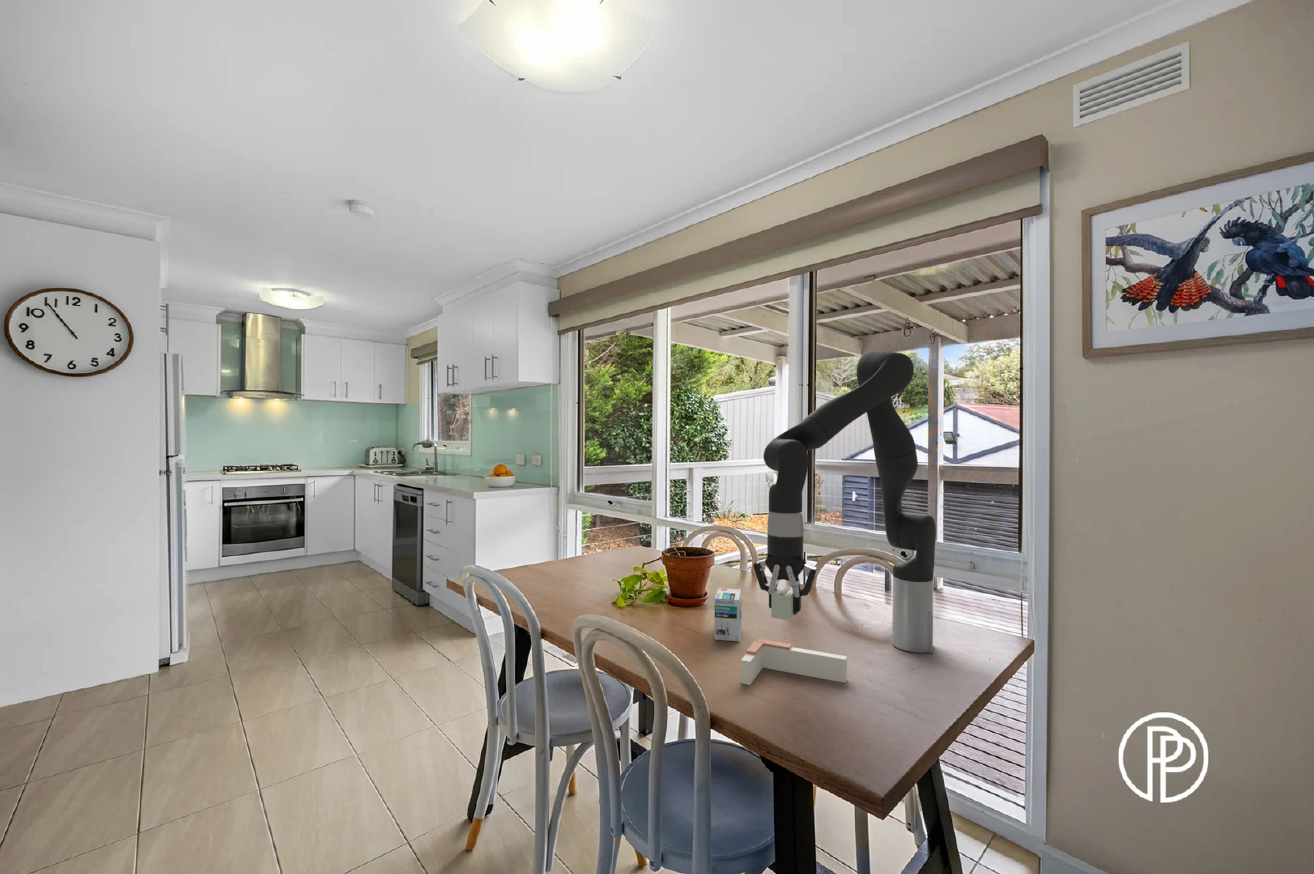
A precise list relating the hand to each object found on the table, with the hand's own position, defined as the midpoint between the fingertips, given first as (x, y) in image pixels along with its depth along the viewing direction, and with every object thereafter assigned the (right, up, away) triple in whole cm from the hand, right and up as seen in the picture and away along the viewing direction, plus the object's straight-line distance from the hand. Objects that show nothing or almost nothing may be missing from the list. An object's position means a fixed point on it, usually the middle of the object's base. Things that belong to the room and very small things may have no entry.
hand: (784, 611), depth 123 cm
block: (0, -1, 0) cm, 1 cm away
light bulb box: (-9, -15, +28) cm, 33 cm away
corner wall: (+2, -15, 0) cm, 15 cm away
